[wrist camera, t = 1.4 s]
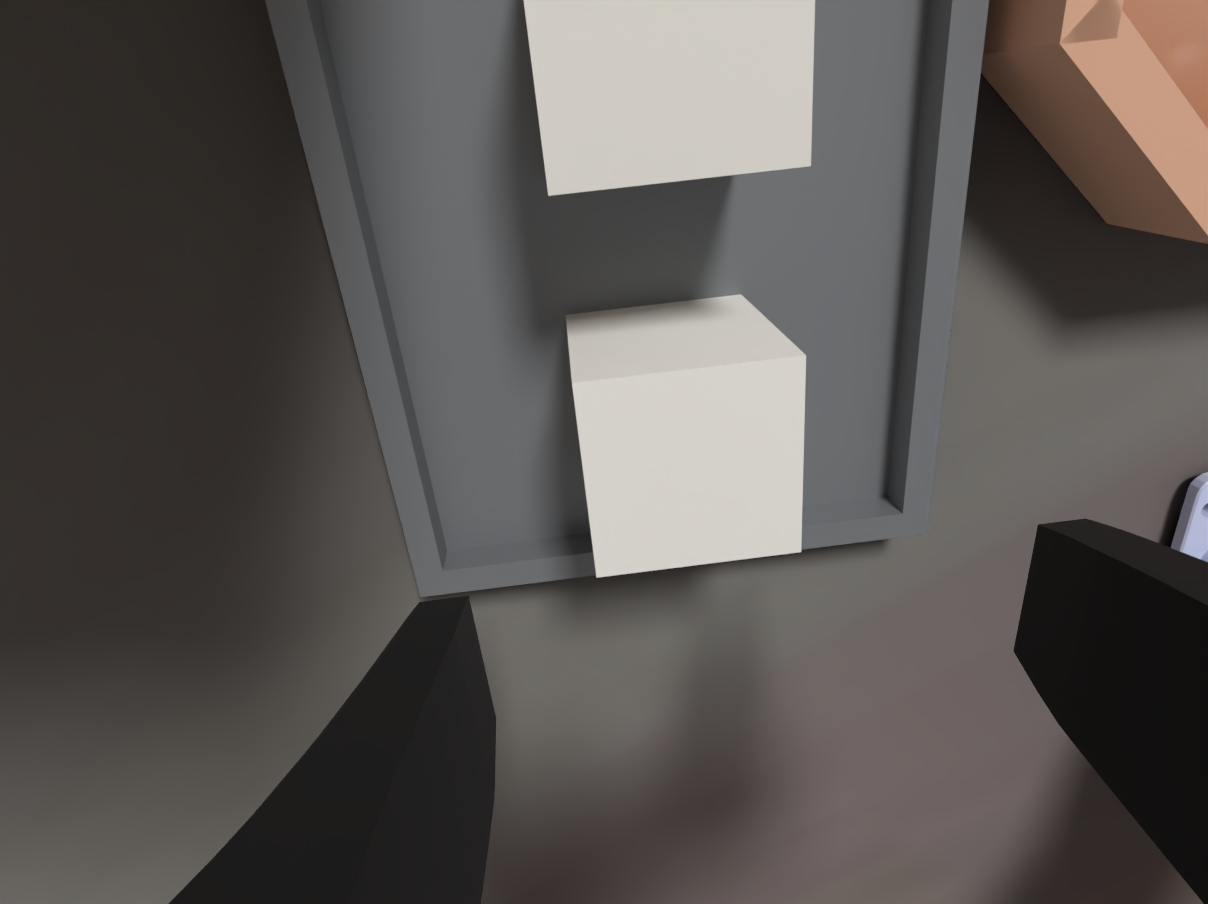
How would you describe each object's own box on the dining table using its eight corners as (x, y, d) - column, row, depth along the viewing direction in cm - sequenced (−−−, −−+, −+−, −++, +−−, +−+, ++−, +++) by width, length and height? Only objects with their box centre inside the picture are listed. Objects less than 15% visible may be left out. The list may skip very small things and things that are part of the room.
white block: (743, 452, 18) (801, 552, 14) (585, 471, 18) (596, 578, 14) (741, 294, 16) (806, 355, 12) (565, 314, 16) (571, 383, 12)
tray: (901, 504, 20) (927, 534, 18) (429, 563, 19) (420, 597, 18) (975, -273, 13) (1025, -319, 11) (240, -200, 12) (202, -239, 11)
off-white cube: (738, 151, 15) (811, 165, 11) (547, 172, 15) (548, 195, 11) (735, -84, 13) (819, -171, 9) (518, -61, 13) (506, -139, 9)
